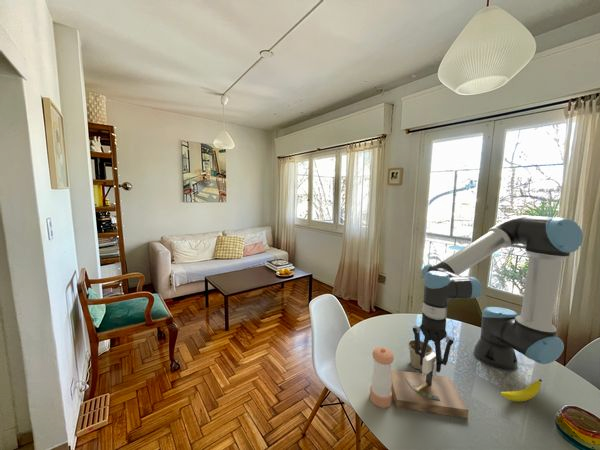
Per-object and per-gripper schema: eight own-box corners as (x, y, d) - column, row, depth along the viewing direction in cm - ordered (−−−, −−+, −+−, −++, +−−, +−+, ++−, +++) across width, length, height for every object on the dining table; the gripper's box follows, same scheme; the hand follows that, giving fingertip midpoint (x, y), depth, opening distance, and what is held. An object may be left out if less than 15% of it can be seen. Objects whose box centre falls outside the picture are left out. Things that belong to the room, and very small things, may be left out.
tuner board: (448, 384, 95) (449, 376, 95) (467, 418, 80) (468, 409, 80) (388, 376, 99) (388, 368, 98) (396, 407, 84) (397, 398, 83)
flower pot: (434, 374, 100) (435, 354, 99) (409, 371, 102) (410, 351, 101) (427, 359, 109) (428, 341, 108) (404, 356, 111) (405, 338, 110)
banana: (494, 402, 87) (496, 385, 86) (534, 392, 92) (536, 376, 91) (503, 409, 84) (505, 391, 83) (543, 398, 89) (546, 382, 88)
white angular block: (431, 378, 93) (433, 351, 92) (436, 381, 92) (438, 354, 91) (414, 390, 87) (416, 361, 86) (419, 394, 86) (421, 365, 85)
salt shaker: (377, 410, 83) (380, 356, 81) (365, 393, 90) (368, 343, 88) (395, 405, 85) (399, 353, 83) (383, 389, 92) (386, 340, 90)
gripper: (407, 311, 90) (403, 371, 93) (458, 327, 80) (452, 393, 82) (413, 305, 96) (409, 361, 98) (462, 318, 85) (456, 381, 88)
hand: (429, 376), depth 90 cm, fingers closed on white angular block, 3 cm apart
